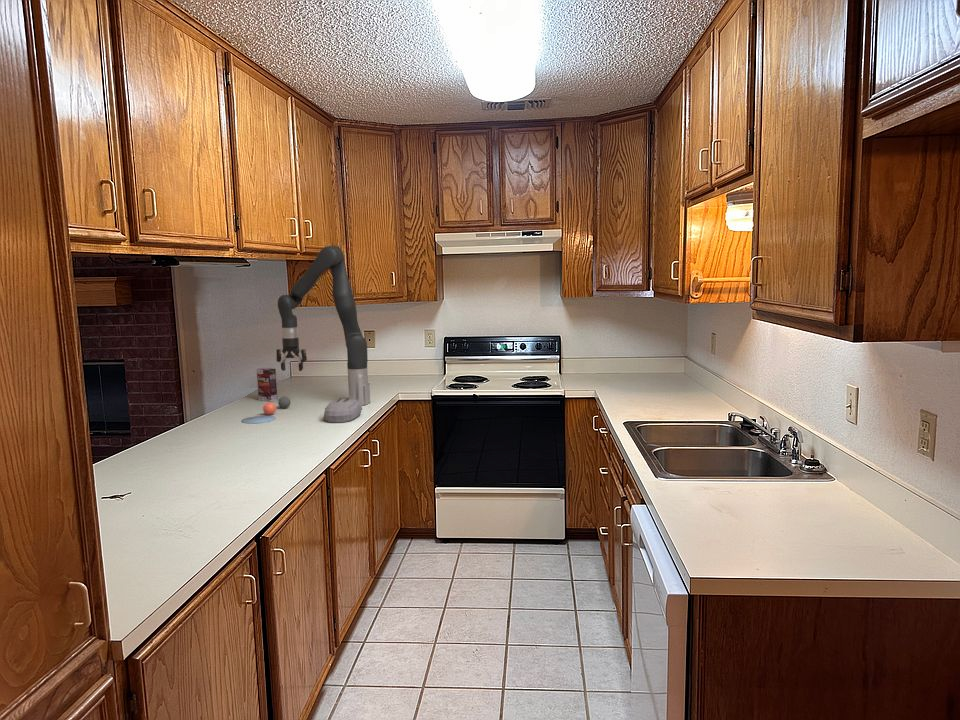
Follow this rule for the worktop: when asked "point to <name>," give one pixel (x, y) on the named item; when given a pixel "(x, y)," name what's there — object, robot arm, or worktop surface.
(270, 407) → the red ball
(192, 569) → the worktop surface
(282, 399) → the grey smooth round ball
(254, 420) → the blue flat disc
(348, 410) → the soft grey pack
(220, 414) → the worktop surface
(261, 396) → the supplement box
